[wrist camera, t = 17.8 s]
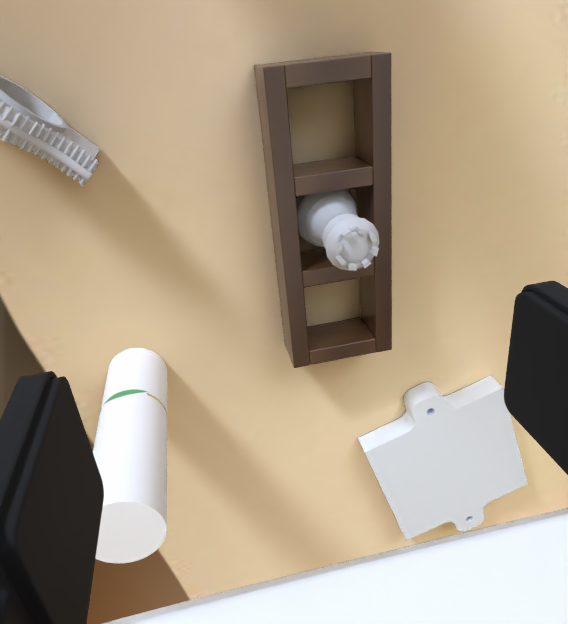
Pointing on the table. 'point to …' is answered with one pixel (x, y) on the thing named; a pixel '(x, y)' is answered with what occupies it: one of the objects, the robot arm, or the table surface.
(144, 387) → the tube
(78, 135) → the white ornate piece
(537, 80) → the table surface
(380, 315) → the piece stand
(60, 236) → the table surface
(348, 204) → the rook chess piece
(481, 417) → the mounting plate
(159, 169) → the table surface
